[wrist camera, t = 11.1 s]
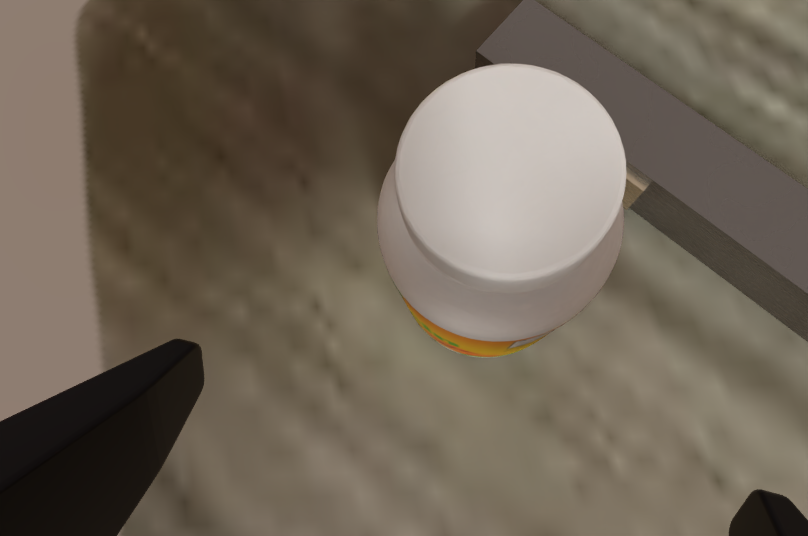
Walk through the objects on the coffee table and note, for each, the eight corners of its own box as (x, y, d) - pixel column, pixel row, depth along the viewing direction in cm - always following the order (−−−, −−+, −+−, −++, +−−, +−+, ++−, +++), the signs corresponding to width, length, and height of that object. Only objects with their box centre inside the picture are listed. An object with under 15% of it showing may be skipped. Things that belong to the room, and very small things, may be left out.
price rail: (1040, 529, 16) (1140, 552, 14) (468, 96, 21) (470, 57, 18) (1095, 452, 17) (1202, 462, 14) (519, 41, 21) (527, -5, 19)
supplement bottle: (372, 258, 20) (294, 134, 11) (502, 170, 20) (540, -29, 11) (464, 392, 19) (469, 390, 9) (601, 297, 19) (742, 199, 10)
